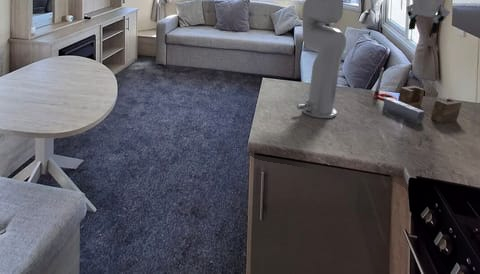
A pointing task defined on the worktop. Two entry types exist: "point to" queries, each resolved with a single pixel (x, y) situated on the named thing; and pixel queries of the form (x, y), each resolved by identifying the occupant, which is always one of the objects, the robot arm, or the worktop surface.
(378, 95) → the tow hook
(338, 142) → the worktop surface
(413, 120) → the rail
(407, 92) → the posts
